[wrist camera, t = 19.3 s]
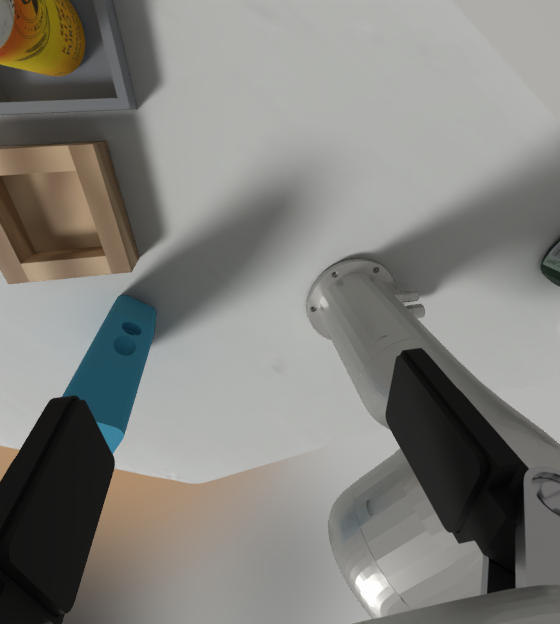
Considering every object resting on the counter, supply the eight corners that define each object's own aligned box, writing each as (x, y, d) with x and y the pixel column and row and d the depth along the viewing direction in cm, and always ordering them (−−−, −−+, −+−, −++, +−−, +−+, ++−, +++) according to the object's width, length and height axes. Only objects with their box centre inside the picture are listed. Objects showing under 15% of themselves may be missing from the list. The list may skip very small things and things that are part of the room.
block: (126, 281, 39) (54, 410, 22) (165, 300, 41) (128, 430, 24) (88, 351, 43) (3, 505, 26) (125, 365, 45) (69, 516, 28)
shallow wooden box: (106, 140, 31) (92, 144, 28) (139, 257, 37) (131, 272, 34) (-31, 148, 30) (-63, 152, 26) (27, 268, 36) (8, 284, 33)
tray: (97, -64, 24) (83, -85, 22) (137, 109, 30) (129, 108, 28) (-66, -67, 23) (-101, -89, 21) (9, 114, 29) (-12, 114, 26)
